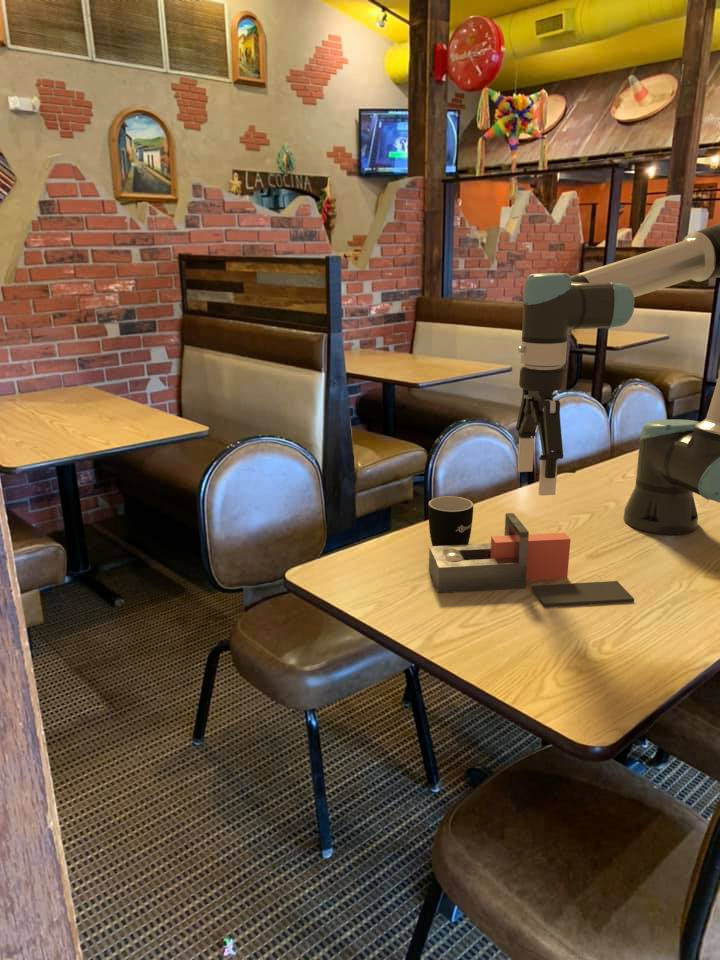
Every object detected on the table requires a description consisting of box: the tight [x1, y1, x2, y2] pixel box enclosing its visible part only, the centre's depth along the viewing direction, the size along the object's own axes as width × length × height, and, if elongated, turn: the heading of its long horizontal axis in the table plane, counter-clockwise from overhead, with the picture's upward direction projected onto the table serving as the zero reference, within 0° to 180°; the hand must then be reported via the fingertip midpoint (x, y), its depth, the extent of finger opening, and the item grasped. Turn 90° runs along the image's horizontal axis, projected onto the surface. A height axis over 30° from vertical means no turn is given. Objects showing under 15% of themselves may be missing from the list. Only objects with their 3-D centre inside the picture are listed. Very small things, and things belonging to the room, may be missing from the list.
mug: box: [427, 495, 474, 546], centre depth 147 cm, size 12×9×10 cm
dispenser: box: [428, 512, 530, 594], centre depth 133 cm, size 16×10×11 cm, turn 95°
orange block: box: [490, 532, 571, 581], centre depth 134 cm, size 14×3×8 cm, turn 95°
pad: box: [530, 580, 635, 608], centre depth 128 cm, size 16×7×1 cm, turn 95°
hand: (535, 482), depth 131 cm, fingers open, 13 cm apart
